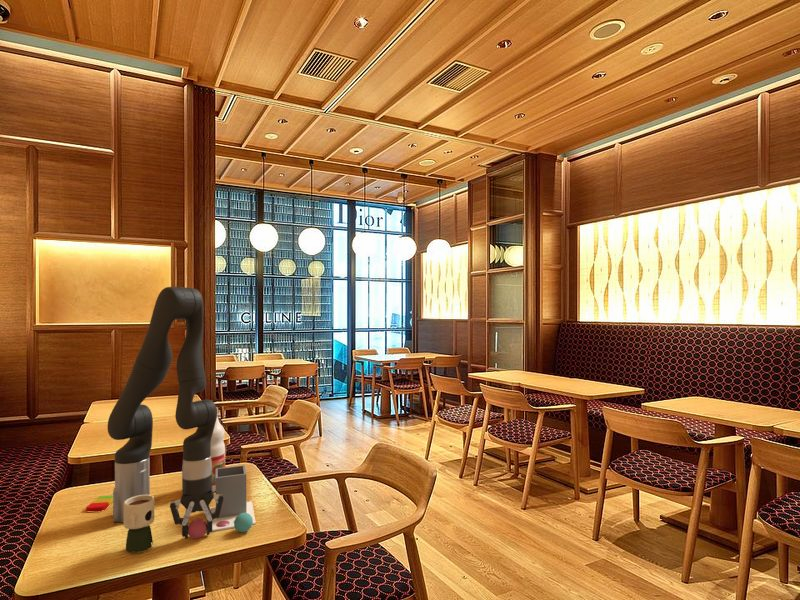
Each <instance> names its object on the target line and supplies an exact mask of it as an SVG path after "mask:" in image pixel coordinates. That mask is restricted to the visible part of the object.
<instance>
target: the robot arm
mask: <svg viewBox="0 0 800 600" xmlns="http://www.w3.org/2000/svg"><path fill="white" fill-rule="evenodd" d="M204 311H205V309H204V299H203V295H202V293H201V292H200V291H199V290H198V289H197V288H194V287H184V286H183V287H181V286H167V287H164V288H163V289H161V291H160V292H159V293H158V296H157V298H156V300H155V304H154V308H153V311H152V313H151V318H150V322H149V325H148V329H147V331H146V334H145V337H144V339H143V342H142V345H141V347H140V350H139V352H138V354H137V355H136V358H135V360H134V363H133V366H132V369H131V372H130V374H129V376H128V379H127V380H126V383H125V385H124V388H123V389H122V392H121V394H120V396H119V398H118V400H117V401H116V403H115V405H114V407H113V408H112V410H111V412H110V415H109V417H108V420H107V433H108V435H109V437H110V438H111V439H113V440H116V441H123V440H126V439H127V442H126V443H125V444H124V445H123V446H121V447H120V448H119V449H117V450H116V452H115V454H114V487H113V490H112V493H113V503H112V506H113V510H112V511H113V512H112V513H113V514H112V515H113V516H112V519H113V520H112V522H113V523H124V501H126V500H127V499H129V498H131V497H135V496H139V495H151V491H150V488H151V485H150V484H151V482H150V479H151V477H150V474H151V472H150V471H151V470H150V466H151V465H150V464H151V463H150V462H151V461H150V452H151V450H152V446H153V445H152V444H153V429H154V428H153V426H154V425H153V424H154V422H153V418H154V417H153V413H152V411H151V409H150V408H149V406H147V405H146V404H142V402H143V401H144V400H146V398H148V397H149V396H150V395H151V394H152V393H153V392H154V391H155V390H156V389H157V388H158V387H159V386H160V385H161V384H162V383H163V382H164V380H165V378H166V377H167V375H168V372H169V369H170V368H171V365H172V362H173V351H172V347H171V344H170V341H169V332H170V329H171V326H172V324H173V323H174V321H175V320H177V321H180V320H181V321H182V320H183V321H184V323H185V329H186V330H185V338H184V341H183V344H182V347H181V348H180V351H179V353H178V356H177V359H176V374H177V375H176V376H177V382H178V393H177V394H178V395H177V401H176V402H177V403H176V408H175V416H174V417H175V422H176V424H177V425H178V427H180V429H182V430H192V429H196V431H195V432H193V433H192V434H191V435H189V436H187V437H184V440H183V442H182V443H183V444H182V466H181V468H182V469H181V474H182V475H181V477H182V478H181V483H182V484H181V486H182V489H181V490H182V492H181V493H182V495H181V497H180V498H179V499H176V500H175V499H173V500H171V501H170V503H169V504H170V505H169V508H170V512H171V517H172V520H173V522H174V523H173V524H175V525H180V526H181V536H182V538H184V540H186V539H189V535H188V526H189V522H188V521H189V518H190V517H191V514H192V513H196V512H203V514H204V515H205V516H206V517H205V518H206V523H207V531H206V536H209V535H210V533H213V532H212V521H213V519H215V518H218V517H219V515H220V511H221V507H222V503H223V499H224V498H223V494H222V493H220V494H216V493H215V492H213V491H212V462H211V438H212V435H213V430H214V427H215V423H216V419H217V416H218V413H217V408H216V407H217V405H216V403H214V401H213V400H211V399H200V400H196V401H194V398H195V397H194V396H195V395H196V394H198V393H200V392H202V391H204V390H205V389H206V388H207V378H206V372H205V364H204V351H203V348H204V347H203V345H204V344H203V343H204V314H205V312H204ZM213 499H214V503H215V507H216V509H215V512H214V513H211V510H210V504H211V503H212V501H213ZM216 503H217V505H216ZM180 505H182V506H183V507H184V508H185V512H184V515H183V517H180V513H179V509H180Z"/></svg>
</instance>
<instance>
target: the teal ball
mask: <svg viewBox="0 0 800 600" xmlns="http://www.w3.org/2000/svg"><path fill="white" fill-rule="evenodd" d="M252 523H253V519H252V517H251V515H250V514H248V513H241V514H239V515H238V516H237V517H236V518H235V521H234V526H235V528H234V529H235V530H236V531H237V532H239V533H245V532H247V531H249V530H250V529H251V528H252V526H253V525H252Z"/></svg>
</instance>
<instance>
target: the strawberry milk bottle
mask: <svg viewBox="0 0 800 600" xmlns="http://www.w3.org/2000/svg"><path fill="white" fill-rule="evenodd" d="M216 408H217V414H218V413H219V407H217V406H216ZM218 416H219V415H217V419H216V423H215V427H214V430H213V435H212V438H211V462H212V491H213V493H216V492H215V491H216V469H217V468H225V467H226V444H225V442H224V439H225V438H224V437H225V435H226V431H225V428H224V426H223V425H222V424H221V422H220V420H219V417H218Z"/></svg>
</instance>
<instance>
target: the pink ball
mask: <svg viewBox="0 0 800 600" xmlns="http://www.w3.org/2000/svg"><path fill="white" fill-rule="evenodd" d="M205 534H207V521H206V520H205V519H202V518H195V519H193V520H192V521H191V522H190V523H188V537H190V539H194V540H196V539H197V540H198V539H200V538H202V537H203V536H205Z"/></svg>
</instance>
